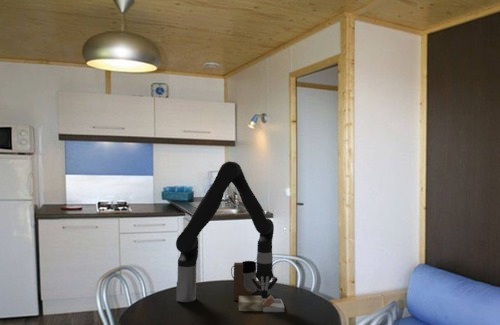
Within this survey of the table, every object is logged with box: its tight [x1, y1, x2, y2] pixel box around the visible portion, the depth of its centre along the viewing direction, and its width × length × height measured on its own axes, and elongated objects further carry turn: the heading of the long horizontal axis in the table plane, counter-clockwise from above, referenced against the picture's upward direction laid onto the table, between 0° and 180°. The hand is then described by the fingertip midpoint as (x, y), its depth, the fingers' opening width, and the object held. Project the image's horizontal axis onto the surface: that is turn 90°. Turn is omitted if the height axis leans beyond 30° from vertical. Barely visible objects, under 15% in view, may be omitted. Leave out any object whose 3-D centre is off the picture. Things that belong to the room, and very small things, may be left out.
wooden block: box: [232, 262, 253, 302], centre depth 193 cm, size 9×4×18 cm, turn 89°
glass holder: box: [230, 260, 258, 294], centre depth 207 cm, size 9×14×15 cm, turn 102°
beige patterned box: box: [238, 295, 263, 312], centre depth 182 cm, size 11×9×4 cm
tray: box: [262, 298, 286, 313], centre depth 183 cm, size 10×12×2 cm
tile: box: [263, 294, 275, 307], centre depth 182 cm, size 5×5×2 cm
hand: (264, 297), depth 182 cm, fingers closed
